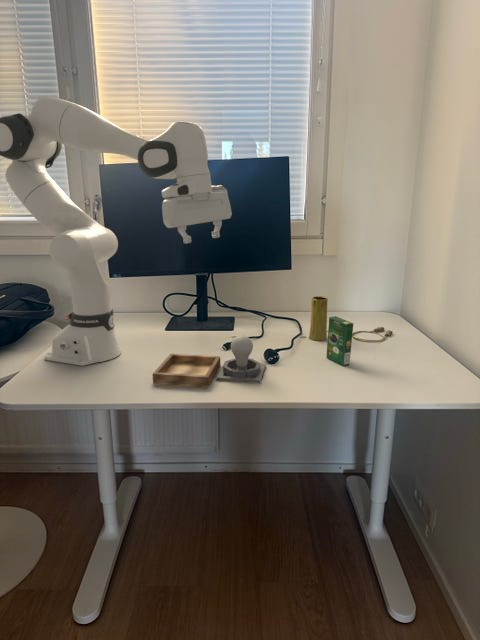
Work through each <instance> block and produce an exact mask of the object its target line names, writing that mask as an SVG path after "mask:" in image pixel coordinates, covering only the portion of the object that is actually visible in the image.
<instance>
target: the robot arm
mask: <svg viewBox="0 0 480 640" xmlns="http://www.w3.org/2000/svg"><path fill="white" fill-rule="evenodd" d="M32 105H33V106H32V109H31V112H30V114H28V115H26V116H25V115H24V114H22V113H15V114H14V113H13V114H11V115H6V116H1V117H0V157H2V158H5V159H8V160H11V164H9V165H8V167H7V168H6V171H5V173H4V174H5V180H6V182H7V184H8V185H9V187H10V189H11V190H12V192H13V194H14V195H15V197H16V198H17V199H18V200H19V201H20V203H21V204H22V206H24V207H25V209H26V210H27V211H28V212H29V213H30V214H31V215H32V217H33V218H34V219H36V221H37V222H38V223H39V224H40V225H41V226H42V228H44V229H46V230H47V231H49V232H51V233H53V234H55V235H56V236H55V237H53V238H52V239H51V241H50V244H49V255H50V258H51V260H52V262H53V263H54V264H55V265H56V266H57V267H59V268H60V269H61V270H62V272H63V274H64V276H65V277H66V280H67V283H68V285H69V289H70V295H71V303H72V311H71V312H70V313H69V314H68V315H66V316H65V317H66V318H65V320H69V324H67V325H66V326H65V327H64V328H63V329H61V330H60V331H59V332H58V333H57V334H56V335H55V336H54V337H53V338H52V344H51V349H50V350H48V351H47V352H46V354H44V359H45V360H46V361H49V362H50V361H51V362H55V363H56V362H57V363H62V364H63V363H64V364H69V365H74V366H75V365H76V366H82V367H83V366H88V365H92V364H95V363H101V362H106V361H109V360H114V359H115V358H117V357H119V356H120V355H121V353H122V351H121V347H120V346H119V343H118V339H117V336H116V332H115V315H114V309H113V308H112V299H111V286H110V284H109V283H108V281H107V280H105V279H104V277H103V273H102V271H101V269H100V264H101V263H103V262H106V261H108V260H109V259H110V258H112V257H113V256H114V255H115V254H116V253H117V251H118V247H119V241H118V238H117V236H116V234H115V233H114V232H113V231H112V230H111V229H110V228H107V227H105V226H103V225H102V224H100V223H98V222H97V221H96V220H95V219H93V218H92V216H90V215H89V214H88V213H86V212H84V211H83V210H82V209H81V208H80V207H78V205H77V204H75V203H74V202H73V201H72V200H71V198H70V197H69V196H68V195H67V194H66V192H64V190H63V189H61V188H60V186H59V184H57V183H56V181H55V180H54V179H53V178H52V177H51V176H50V175H49V173H48V171H47V170H46V169H49V168H52V166H53V165H54V162H55V160H57V158H58V156H59V155H60V153H61V150H62V147H63V146H62V145H64V146H67V147H69V148H72V149H73V150H74V149H75V150H79V151H83V152H89V153H98V154H114V155H120V156H126V157H128V158H130V159H134V160H136V161H137V164H138V167H139V169H140V171H141V172H142V173H143V174H144V175H145V176H147V177H148V178H152V179H158V180H170V181H176V183H173V184H172V185H170V186H168V187H166V188H164V189H162V190H161V197H162V198H163V201H162V203H161V210H162V212H161V213H162V220H163V221H162V222H163V224H164V225H165V227H166V228H167V229H172V228H173V229H174V228H177V232H178V233H179V235H180V236H181V238H182V240H183V244H191V243H192V236H191V235H188V233H187V232H186V230H187V226H191V225H198V224H204V223H211V222H212V224H213V225H214V229H213V231H211V237H212V239H218V238H220V237H221V235H220V231H221V227H222V225H223V222H222V221H223V220H229V219H231V218H232V215H233V212H232V207H231V203H230V200H229V194H228V190H227V188H226V187H224V186H223V185H221V184H220V185H212V180H211V179H212V178H211V171H210V169H209V165H208V160H209V159H208V158H209V153H208V148H207V141H206V138H205V134H204V133H205V132H204V129H203V128H202V127H201V126H200V125H198V123H194V122H190V121H174V122H173V123H171V124H170V126H169V127H168V128H167V130H165V131H164V132H162V133H161V134H160V135H158V136H156V137H154V138H152V139H147V138H145V137H142V136H139V135H137V134H134V133H131V132H129V131H127V130H125V129H123V128H121V127H119V126H118V125H116V124H114V123H113V122H111V121H109V120H107V119H106V118H105V117H103V116H101V115H100V114H98V113H96V112H94V111H92V110H90V109H88V108H87V107H84V106H82V105H79V104H77V103H74V102H71V101H69V100H65V99H61V98H57V97H51V96H42V97H39V98H37V100H36V101H34V103H33V104H32Z"/></svg>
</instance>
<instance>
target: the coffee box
mask: <svg viewBox="0 0 480 640" xmlns="http://www.w3.org/2000/svg"><path fill="white" fill-rule="evenodd" d="M327 329H328V331H327V344H326V345H327V346H326V347H327V348H326V358H327V359H328V360H330V361H333V362H334V363H336V364H338V365H340V366H342V367H346V366H349V365H350V364H351V362H350V361H351V354H352V343H353V337H352V334H353V333H354V322H351V321H349V320H346V319H344V318H341V317H339V316H329V317H328V326H327Z"/></svg>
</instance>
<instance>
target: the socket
mask: <svg viewBox="0 0 480 640" xmlns="http://www.w3.org/2000/svg"><path fill="white" fill-rule="evenodd" d="M266 366H267V365H266V363H261V362H260V361H257V360H255V359H254V358H248V363H247V367H246V371H243V370H237V364H236V358H235V357H234V358H232V359H228V360H226V361H224V363H223V364H222V367H220V368H221V369H219V372H218V374H216V376H215V377H216V379H215V380H216V381H218V380H220V381H219V382H221V381H223V382H233V383H234V382H235V383H248V384H249V383H250V384H261V382H262V380H263V376H264V372H265V370H266ZM247 368H249V369H247Z"/></svg>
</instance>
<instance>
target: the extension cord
mask: <svg viewBox="0 0 480 640" xmlns="http://www.w3.org/2000/svg"><path fill="white" fill-rule="evenodd" d="M384 331H385V327H384V326H378V327H376V328H374V329H373V330H370V331H368V330H367V331H366V330H358V331H353V333H352V339H354V340H356V341H359V342H364V343H373V342H377V343H382V342H384V341H386V338H388V337H390V336H391V335H392V334H394V333H393V330H387V331H386V332H385V334H384V336H383V335H381V334H380V333H381V332H384ZM360 333H371V334H376V335H379V336H380V337H382V338H381V339H362V338H358V337H355V336H354V335H356V334H360Z"/></svg>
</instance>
